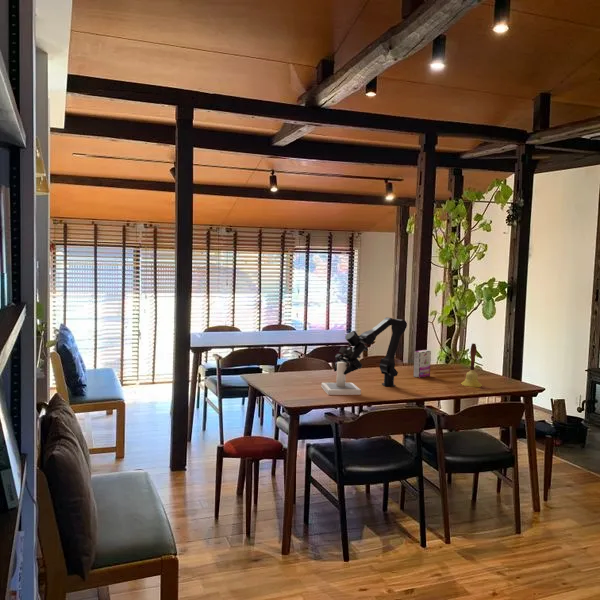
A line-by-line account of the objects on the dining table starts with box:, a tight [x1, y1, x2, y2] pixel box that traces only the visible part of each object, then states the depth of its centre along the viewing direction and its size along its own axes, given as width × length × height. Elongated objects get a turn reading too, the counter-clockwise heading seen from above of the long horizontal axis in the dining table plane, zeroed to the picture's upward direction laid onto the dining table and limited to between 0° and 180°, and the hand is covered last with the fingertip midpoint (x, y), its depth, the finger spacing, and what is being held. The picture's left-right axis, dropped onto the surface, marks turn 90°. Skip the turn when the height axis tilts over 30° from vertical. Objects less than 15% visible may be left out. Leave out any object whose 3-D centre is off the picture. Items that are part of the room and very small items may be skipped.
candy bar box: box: [413, 349, 432, 379], centre depth 356 cm, size 11×5×16 cm, turn 129°
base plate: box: [320, 382, 362, 396], centre depth 309 cm, size 18×18×3 cm
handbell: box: [460, 343, 483, 388], centre depth 335 cm, size 12×12×25 cm
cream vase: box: [335, 361, 347, 387], centre depth 308 cm, size 5×5×13 cm
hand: (339, 372), depth 307 cm, fingers open, 9 cm apart
